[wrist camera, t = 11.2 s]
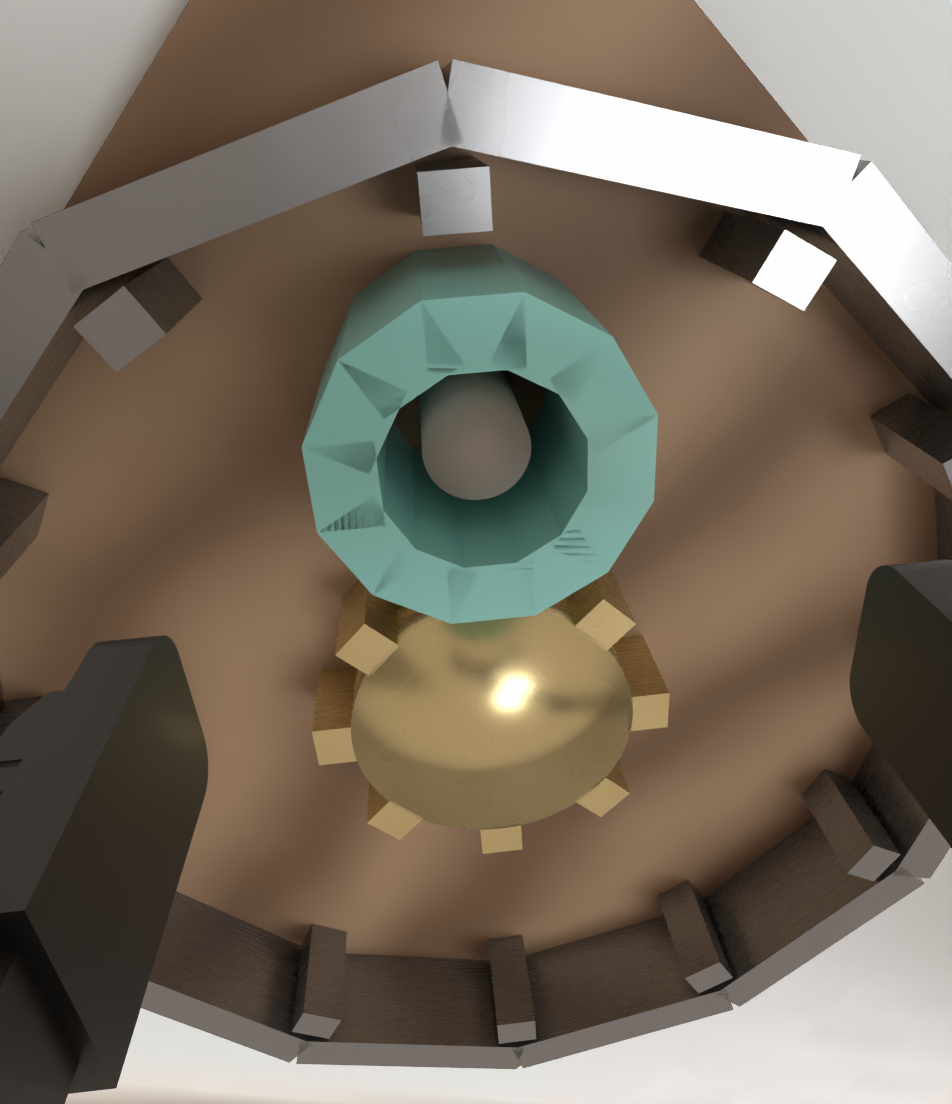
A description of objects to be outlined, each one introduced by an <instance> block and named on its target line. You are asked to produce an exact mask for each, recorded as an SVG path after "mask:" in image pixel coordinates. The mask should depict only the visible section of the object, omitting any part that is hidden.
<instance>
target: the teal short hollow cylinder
mask: <svg viewBox="0 0 952 1104" xmlns="http://www.w3.org/2000/svg"><path fill="white" fill-rule="evenodd" d="M502 370H509V371H511V372H513V373H515V374H517V375H519V376H521V377H523V378H525V379H528V380H530V381H532V382H534V383H536V384H538V385H540V386H542V387H543V402H542V404H541V406H540V408H539V410H538V411H537V413H536V415H535V417H534V419H533V421H532V422H531V424H530V426H529V428H528V431H529V434H530V438H531V455H530V460H529V463H528V466H527V468H526V470H525V472H524V473H523V475H522V477H521V478H520V479H519V480H518V482H517V483H516V484H514V485H513V486H512V487H511V488H510V489H508V490H507V491H505V492H504V493H502V494H500V495H497V496H495V497H492V498H488V499H483V500H467V499H462V498H458V497H455V496H453V495H451V494H448V493H447V492H445V491H444V490H442V489H441V488H440V487H439V486H437V485H436V484H435V482H434V481H433V480H432V479H431V477H430V476H429V474H428V472H427V470H426V468H425V465H424V462H423V456H422V451H420V450H418V449H416V448H413V447H412V446H411V445H410V444H409V442H408V441H407V440H406V438H405V437H404V436H403V435H402V433H401V432H400V431H399V429H398V428H397V427H396V425H395V424H394V423H393V421H394V419H395V417H396V415H397V413H398V411H399V408H401V407H402V406H404V405H405V404H407V403H408V402H410V401H411V400H413V399H414V398H415V397H417V396H418V395H420V394H421V393H423V392H424V391H426V390H427V389H429V388H430V387H432V386H433V385H434V384H436V383H437V382H439V381H440V380H442V379H443V378H445V377H446V376H448V375H456V374H468V373H479V372H490V371H502ZM657 428H658V414H657V412H656V410H655V409H654V407H653V405H652V404H651V402H650V400H649V398H648V397H647V395H646V393H645V391H644V390H643V388H642V386H641V384H640V383H639V381H638V379H637V378H636V376H635V374H634V372H633V371H632V369H631V367H630V365H629V364H628V362H627V360H626V359H625V357H624V355H623V353H622V352H621V350H620V348H619V346H618V345H617V343H616V341H615V339H614V338H613V336H612V335H611V334H610V333H609V332H608V331H607V330H606V329H605V328H604V327H603V326H602V325H601V323H600V322H599V321H598V320H597V319H596V318H595V317H594V316H593V315H592V314H591V313H590V312H589V311H588V310H587V309H586V307H585V306H584V305H583V304H582V303H581V302H580V301H579V300H578V299H577V298H576V297H575V296H574V295H573V294H572V293H571V291H570V290H569V289H568V288H567V287H566V286H565V285H564V284H563V283H562V282H561V281H560V280H559V279H558V278H556V277H554V276H552V275H550V274H548V273H547V272H545V271H543V270H541V269H539V268H537V267H535V266H533V265H531V264H529V263H527V262H525V261H523V260H521V259H520V258H518V257H516V256H514V255H512V254H510V253H508V252H506V251H504V250H502V249H500V248H498V247H496V246H494V245H492V244H490V245H478V246H466V247H453V248H441V249H428V250H416V251H414V252H413V253H411V254H410V255H409V256H407V257H406V258H404V259H403V260H402V261H400V262H399V263H398V264H396V265H395V266H394V267H392V268H391V269H389V270H388V271H387V272H385V273H384V274H383V275H381V276H380V277H379V278H377V279H376V280H374V281H373V282H372V283H370V284H369V285H368V286H366V287H365V288H364V289H362V290H361V291H359V292H358V293H357V294H355V295H354V296H353V299H352V301H351V303H350V306H349V308H348V311H347V313H346V316H345V318H344V321H343V323H342V325H341V328H340V330H339V333H338V335H337V338H336V340H335V343H334V345H333V347H332V350H331V352H330V355H329V357H328V360H327V362H326V365H325V368H324V372H323V375H322V379H321V382H320V386H319V389H318V392H317V396H316V399H315V403H314V406H313V410H312V413H311V416H310V420H309V423H308V427H307V430H306V434H305V437H304V440H303V444H302V453H303V458H304V464H305V469H306V475H307V480H308V486H309V491H310V497H311V502H312V508H313V513H314V519H315V524H316V530H317V533H318V534H319V536H320V537H321V538H322V539H323V540H324V541H325V542H326V543H327V544H328V546H329V547H330V548H331V549H332V550H333V551H334V552H335V553H336V555H337V556H338V557H339V558H340V559H341V560H342V561H343V562H344V564H345V565H346V566H347V567H348V568H349V569H350V570H351V571H352V572H353V574H354V575H355V576H356V577H357V578H358V579H359V580H360V581H361V583H362V584H363V585H364V586H365V587H366V588H367V589H368V590H369V592H370V593H371V594H372V595H373V596H376V597H379V598H382V599H384V600H387V601H390V602H393V603H395V604H398V605H401V606H404V607H406V608H409V609H412V610H415V611H417V612H420V613H423V614H426V615H428V616H431V617H434V618H437V619H439V620H442V621H445V622H448V623H450V624H455V623H465V622H475V621H485V620H495V619H505V618H515V617H525V616H535V615H537V614H539V613H540V612H542V611H544V610H545V609H547V608H549V607H551V606H552V605H554V604H556V603H557V602H559V601H561V600H562V599H564V598H566V597H567V596H569V595H571V594H572V593H574V592H576V591H577V590H579V589H581V588H583V587H584V586H586V585H588V584H589V583H591V582H593V581H594V580H596V579H598V578H599V577H601V576H603V575H604V574H606V573H608V572H609V570H610V569H611V567H612V566H613V564H614V562H615V561H616V559H617V558H618V556H619V555H620V553H621V552H622V550H623V548H624V547H625V545H626V544H627V542H628V541H629V539H630V537H631V536H632V534H633V533H634V531H635V530H636V528H637V527H638V525H639V523H640V522H641V520H642V519H643V517H644V516H645V514H646V513H647V511H648V509H649V508H650V506H651V505H652V503H653V502H654V489H655V469H656V448H657Z"/></svg>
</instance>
